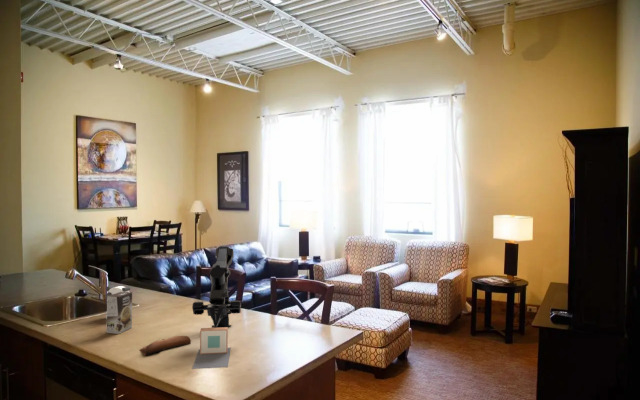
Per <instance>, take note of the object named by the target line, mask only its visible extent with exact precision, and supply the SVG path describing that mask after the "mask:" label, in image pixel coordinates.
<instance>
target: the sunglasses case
mask: <svg viewBox="0 0 640 400" xmlns="http://www.w3.org/2000/svg"><path fill="white" fill-rule="evenodd" d="M191 342H192V340H191V337H190V336H189V335H176V336H171V337H168V338H163V339H161V340H160V339H159V340H155V341H153V342H151V343H149V344H148V345H145V346H143V347H142V348H141V347H140V349H138V350H139V352H141V353H142V354H143V355H144V356H149V355H151V354H155V353H158V352H161V351H164V350H169V349H172V348H177V347H181V346H186V345H190V344H191Z"/></svg>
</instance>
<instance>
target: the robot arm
mask: <svg viewBox="0 0 640 400" xmlns="http://www.w3.org/2000/svg"><path fill="white" fill-rule="evenodd" d="M234 253H235V251H234V249H233V248H231V247H230V246H227V245H226V246H225V245H224V246H223V245H222V246H221V245H219V246H218V247H217V248H215V254H214V255H215V259H216V261H215V263H214V264H213V265H212V268H211V269H210V270H209V272H208V273H209V274H208V275H209V278H210V283H211V290H210V291H209V292H210V293H209V303H207V304H204V301H193V303H192V306H191V309H192V314H193V315H196V316H197V315H203V314H204V313H205V311H207V316H208V317H210V319H211V320H212V323H213V325H211V328H219V327H228V328H231V327H232V324H230V315H231V314H241V313H242V311H241V310H242V309H241V307H242V306H241V301H240V300H230V295H229V289H228V280H229V279H228V278H229V277H230V275H231V271H230V268H229V267H230V266H231V264H232V263H233V259H234V256H235V255H234Z"/></svg>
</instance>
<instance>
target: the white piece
mask: <svg viewBox="0 0 640 400" xmlns="http://www.w3.org/2000/svg"><path fill="white" fill-rule="evenodd" d="M105 290H106V292H107V293H106V295H105V298H106V301H107V296H109V295H112V294H115V293H119V292H130V290H131V287H130V286H123V285H118V286H115V285H114V284H113V285H108V286H106V288H105ZM105 319H106V320H107V316H105Z"/></svg>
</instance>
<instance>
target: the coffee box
mask: <svg viewBox="0 0 640 400" xmlns="http://www.w3.org/2000/svg"><path fill="white" fill-rule="evenodd" d="M106 317H107V319H106V333H107V334H115V335H118V334H121V333H124V332H126V331H127V330H131V329H132V327H133V292H131V291H129V292H119V293H115V294H112V295H109V296H107V300H106Z"/></svg>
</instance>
